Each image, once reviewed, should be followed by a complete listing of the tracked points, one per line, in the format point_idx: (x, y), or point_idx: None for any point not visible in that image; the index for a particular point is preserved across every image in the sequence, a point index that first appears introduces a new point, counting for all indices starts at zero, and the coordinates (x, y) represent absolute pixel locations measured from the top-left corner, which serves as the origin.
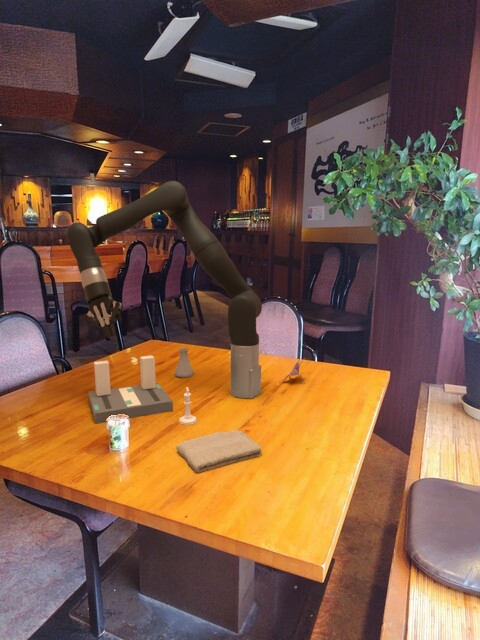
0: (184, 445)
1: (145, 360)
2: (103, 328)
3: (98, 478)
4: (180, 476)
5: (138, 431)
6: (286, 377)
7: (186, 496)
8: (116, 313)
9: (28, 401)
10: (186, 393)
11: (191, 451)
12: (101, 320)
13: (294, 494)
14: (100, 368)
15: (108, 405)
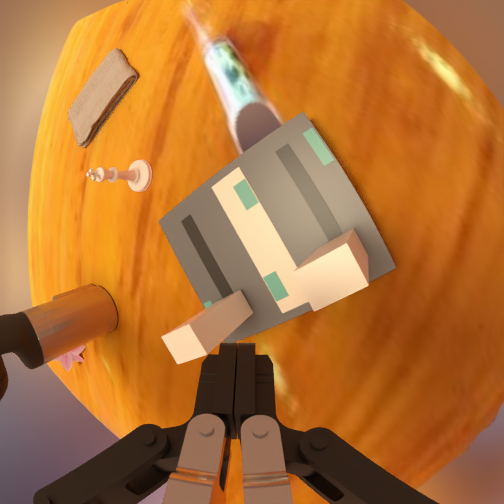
0: (122, 74)
1: (184, 325)
2: (271, 411)
3: None
4: (132, 37)
5: (205, 109)
6: (76, 348)
7: (127, 18)
8: (100, 460)
9: None
10: (98, 172)
11: (116, 67)
12: (261, 469)
13: (67, 68)
14: (329, 250)
15: (291, 165)
